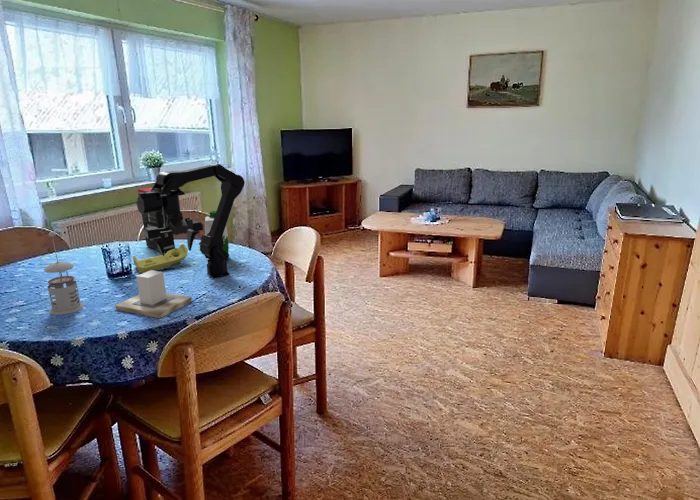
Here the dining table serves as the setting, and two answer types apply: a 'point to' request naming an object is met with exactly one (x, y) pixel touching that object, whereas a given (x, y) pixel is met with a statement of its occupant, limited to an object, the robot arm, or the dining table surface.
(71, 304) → the french press
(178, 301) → the board
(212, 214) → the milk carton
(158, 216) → the graphics card box
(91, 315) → the dining table surface
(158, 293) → the block
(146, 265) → the plastic component
